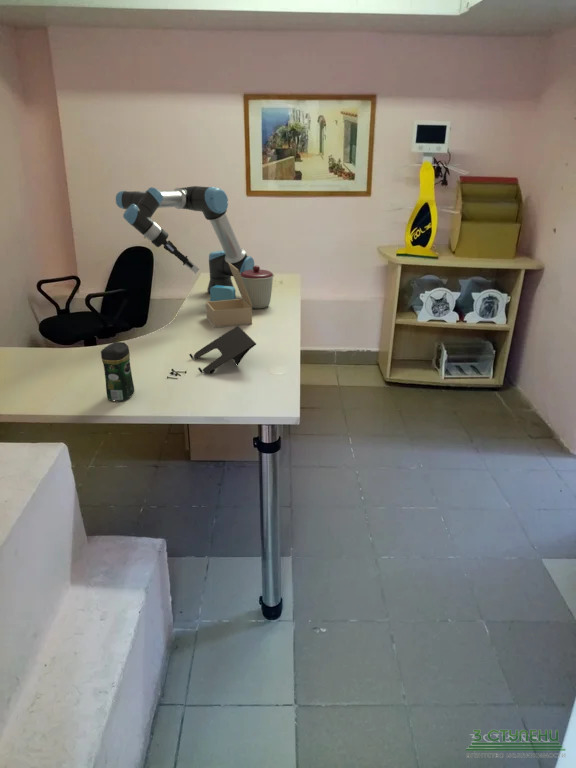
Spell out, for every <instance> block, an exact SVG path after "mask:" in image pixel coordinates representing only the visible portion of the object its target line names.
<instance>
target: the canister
mask: <svg viewBox="0 0 576 768" xmlns="http://www.w3.org/2000/svg"><path fill="white" fill-rule="evenodd" d="M240 275H241V278H242V280H243V283H244V285H245V288H246V290H247V293H248V295H249V298H250V300H251V303H252V305H253V306H251V305H250V304H249V305H250V306H251V307H252V310H253V309H256V310H257V309H258V310H259V309H260V310H261V309H265V308H267V307H268V306H269V305H270V303H271V301H272V300H271V298H272V291H273V281H274V277H275V273H273V272H271V271H270V270H268V269H267V270H266V269H261V268H260V266H259V265H254V267H253V270H246V271H243V272H242V273H240ZM242 299H243V298H242ZM243 300H244V299H243ZM244 301H245V300H244ZM245 302H246V301H245ZM246 303H247V302H246Z"/></svg>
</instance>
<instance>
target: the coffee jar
mask: <svg viewBox="0 0 576 768" xmlns="http://www.w3.org/2000/svg"><path fill="white" fill-rule="evenodd" d="M100 357H101V362H102V364H103V370H104V379H105V389H106V391H105V393H106V398H107V400H109V399H110V401H111V400H115V401H114V402H116V401H119V402H123V400H125V401H127V400H128V398H129V397H130V396H131V395H132V394H133V395H134V394H135V385H134V380H133V375H132V367H131V360H130V348H129V345H128V344H127V343H125V342H123V341H113V342H112V343H110V344H108V345H107V346H105V347H104V348H103V349H102V350H101V351H100ZM133 395H132V396H133ZM132 396H131V397H132ZM131 397H130V398H131ZM130 398H129V399H130ZM126 399H127V400H126Z"/></svg>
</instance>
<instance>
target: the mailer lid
mask: <svg viewBox="0 0 576 768" xmlns="http://www.w3.org/2000/svg"><path fill="white" fill-rule="evenodd" d="M228 264H229V267H230V269H231V272H232V274H233V276H232V277H233V279H234V282H235V284H236V286H237V289H238V292H239V294H240V296H241V299H244V300H245V301H246V302H247V303H248V304H250V305H251V306H253V305H252V303H251V300H250V298H249V295H248V293H247V290H246V288H245V285H244V283H243V280H242V278H241V275H240V272H239V270H238V269H237V268H236V267H234V266H233V265H232V264H231V263H228Z"/></svg>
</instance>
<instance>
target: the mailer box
mask: <svg viewBox="0 0 576 768" xmlns="http://www.w3.org/2000/svg"><path fill="white" fill-rule="evenodd" d="M205 305H206V307H205V308H206V319H207V320H208V321H209V323H210V324H211V325H212V326H213V328H214V329H215V328H223V327H232V326H235V327H237V326H244V325H252V324H253V308H252V307H251V306H250V305H249V304H248V303H246V302H245V301H244V300H243V298H236V299H234V300H223V301H211V300H210V301H206V302H205Z"/></svg>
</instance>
